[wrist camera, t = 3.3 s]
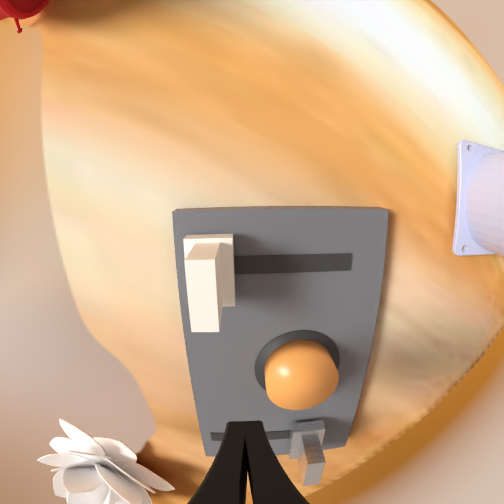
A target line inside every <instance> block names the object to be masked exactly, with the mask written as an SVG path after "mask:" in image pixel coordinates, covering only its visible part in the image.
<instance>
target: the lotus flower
mask: <svg viewBox="0 0 504 504" xmlns="http://www.w3.org/2000/svg"><path fill="white" fill-rule="evenodd" d="M59 420H60V424H61V426H62V428H63V430H64V431H65V433H66V434H67V435H68V436H69V437H70V438H71V439H69V438H65V437H55V438H54V439H53V440H52V441H51V443H50V446H51V447H52V448H53V449H54V450H55V451H56V452H57V453H59V454H51V455H46V456H43V457H41V458H40V459H38V461H39V462H41V463H44V464H48V465H51V466H57V467H61V468H57V469H53V470H51V471H58V470H59V471H58V472H57V473H56V475H55V476H54V478H53V488H54V492H55V495H57V496H60V497H64V498H67V503H68V504H153V503H152V500H151V498H150V496H149V495H148V493H147V491H146V490H145V488H146V489H147V490H149V491H150V492H152V493H154V494H156V492H155V491H153V490H152V489H151V488H149V487H152V488H155V489H158V490H162V491H171V490H175V488H174V487H173V486H172V485H171V484H169V483H168V482H167V481H165V480H164V479H162V478H161V477H159V476H158V475H156V474H155V473H153V472H152V471H150V470H149V469H147V468H145V467H144V466H142V465H140V464H138V463H136V461H137V455H136V454H135V453H134V452H133V451H132V450H131V449H130V448H129V447H128V446H127V445H125V444H124V443H123V442H121V441H118V440H114V439H110V438H104V437H91V436H89V435H88V434H87V433H86V432H84V431H83V430H81V429H80V428H78V427H76V426H75V425H73V424H71V423H69V422H67V421H65V420H63V419H61V418H60V419H59ZM148 486H149V487H148Z"/></svg>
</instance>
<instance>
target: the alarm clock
mask: <svg viewBox="0 0 504 504" xmlns="http://www.w3.org/2000/svg"><path fill="white" fill-rule="evenodd" d="M48 1H49V0H0V20H2V19H5V18H7V17H12V18H14V19H15V23H16V25H17V28H18V31H17V32H18V33H21V32H22V28H20V25H19V20H18V19H26V18H29V17H32V16H34V15H36V14H37V13H39V12H40V11H41V10H42V9H43V8H44V7H45V6H46V4H47V3H48Z"/></svg>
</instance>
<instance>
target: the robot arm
mask: <svg viewBox="0 0 504 504" xmlns="http://www.w3.org/2000/svg"><path fill="white" fill-rule="evenodd" d="M467 147H469V151H468V148H467ZM457 155H458V178H457V204H456V218H455V229H454V238H453V246H452V251H453V253H454V254H455V255H458V256H464V255H485V254H498V255H500V256H503V257H504V151H501V150H497V149H494V148H491V147H488V146H484V145H481V144H477V143H473V142H470V141H466V140H460V141H459V142H458V144H457ZM463 246H464V248H463ZM462 248H463V250H462ZM247 472H248V476H249V482H250V488H251V494H252V500H253V504H309V503H308V502H307V501H306V499H305V498H304V497H303V496H302V495H301V494H300V492H299V491H298V490H297V488H296V487H295V486H294V485H293V483H292V482H291V480H290V479H289V477H288V476H287V474H286V473H285V471H284V470H283V468H282V466H281V465H280V463H279V461H278V459H277V457H276V456H275V454H274V452H273V450H272V448H271V445H270V443H269V441H268V438H267V436H266V433H265V429H264V426H263V422H262V421H260V420H257V421H229V422H228V423H227V424H226V429H225V433H224V437H223V440H222V442H221V445H220V448H219V450H218V453H217V455H216V457H215V459H214V462H213V464H212V466H211V468H210V469H209V471H208V473H207V475H206V477H205V479H204V480H203V482H202V484H201V485H200V487H199V488H198V490H197V491H196V493H195V494H194V496H193V497H192V498H191V500H190V501H189V502H188V504H245V501H246V487H247Z"/></svg>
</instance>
